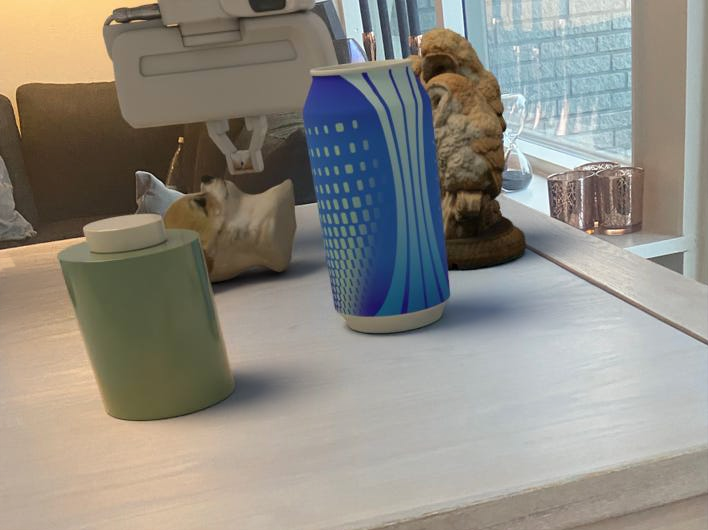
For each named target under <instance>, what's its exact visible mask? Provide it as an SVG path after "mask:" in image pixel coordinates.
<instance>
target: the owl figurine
mask: <svg viewBox="0 0 708 530" xmlns="http://www.w3.org/2000/svg"><path fill="white" fill-rule="evenodd" d="M419 49H420V55H419V54H417V55H414V54H410V55H408V57H406V58H405V59H412V61H413V65H412V69H413V71H414V73H415V74H416V76H417V78H418V79H419V81H420V82H421V84H422V85H423V87H424V88H425V90H426V92H427V93H428V95H429V97H430V99H431V105H432V115H433V125H434V135H435V145H436V155H437V165H438V175H439V185H440V195H441V205H442V216H443V226H444V236H445V246H446V256H447V266H448V270H451V269H454V265H453V264H455V265H456V267H457V268H458V269H459V270H460V269H461V270H467V269H469V270H470V269H478V268H481V267H484V266H486V267H487V266H488V267H489V266H495V265H497V264H504V263H507V262H509V261H511V260H514V259H518V258H520V257H522V256H523V255H524V254H525V252H526V248H527V242H526V236H525V233H524V231H523V230H522V229H521V228H519V227H518V226H516V225H514V222H513V221H512V220H510V219H509V218H507V217H505V216H504V215H503V213H502V212H501V204H500V201H499V200H497V197H499V196H500V195H501V193H502V189H503V180H504V179H503V172H504V171H505V166H506V157H505V152H504V149H505V148H504V144H503V134H504V133H505V132H506V131H507V128H508V125H507V122H506V120H505V118H504V116H503V114H504V111H505V106H504V103H503V102H502V91H501V86H500V83H499V81H498V79H497V77H496V76H495V73H493V72H491V71H489V70H487V69H486V68H485V66H484V64H483V62H482V61H481V60H480V58H479V55H478V53H477V51H476V50H475V48H474V47H473V46H472V43H471V41H468V39H466V38H465V36H463V35H461V34H460V33H459V32H456V31H454V30H452V29H450V28H445V27H444V28H443V27H442V28H438V27H437V28H432V29H430V30H428V31H426V32H425V33H423V35H422V37H421V38H420V42H419Z"/></svg>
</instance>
